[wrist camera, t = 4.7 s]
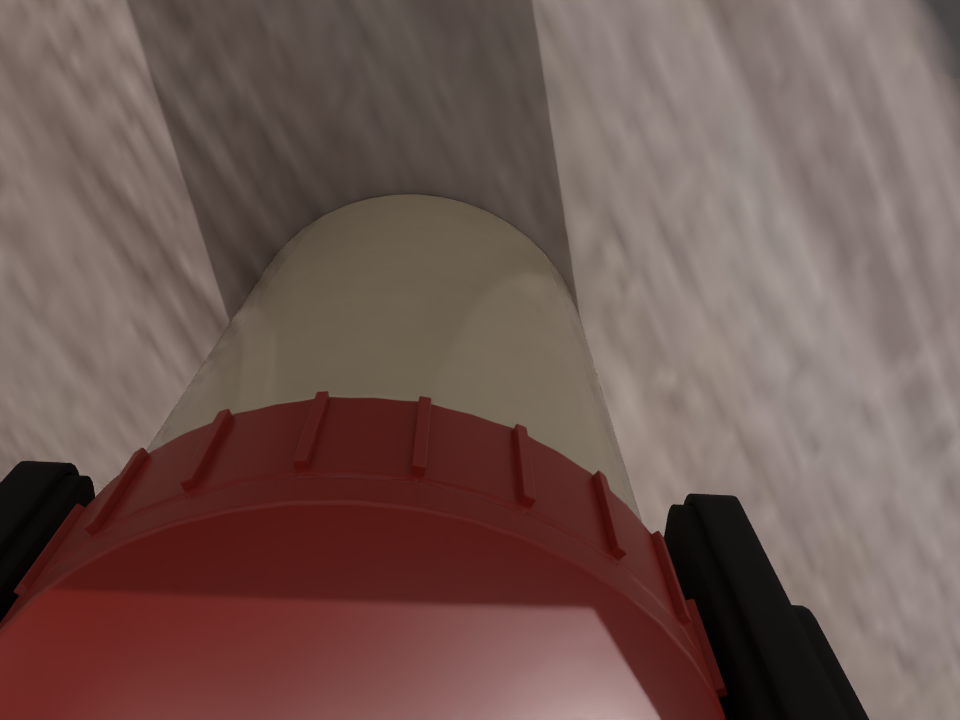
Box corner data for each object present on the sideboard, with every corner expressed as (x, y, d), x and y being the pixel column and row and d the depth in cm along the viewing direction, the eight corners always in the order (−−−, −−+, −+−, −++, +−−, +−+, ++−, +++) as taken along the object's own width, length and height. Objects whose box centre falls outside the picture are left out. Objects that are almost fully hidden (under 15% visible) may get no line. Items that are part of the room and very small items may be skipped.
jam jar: (421, 116, 15) (358, 325, 6) (652, 372, 17) (838, 795, 8) (172, 349, 17) (-144, 763, 8) (408, 557, 19) (355, 1068, 10)
